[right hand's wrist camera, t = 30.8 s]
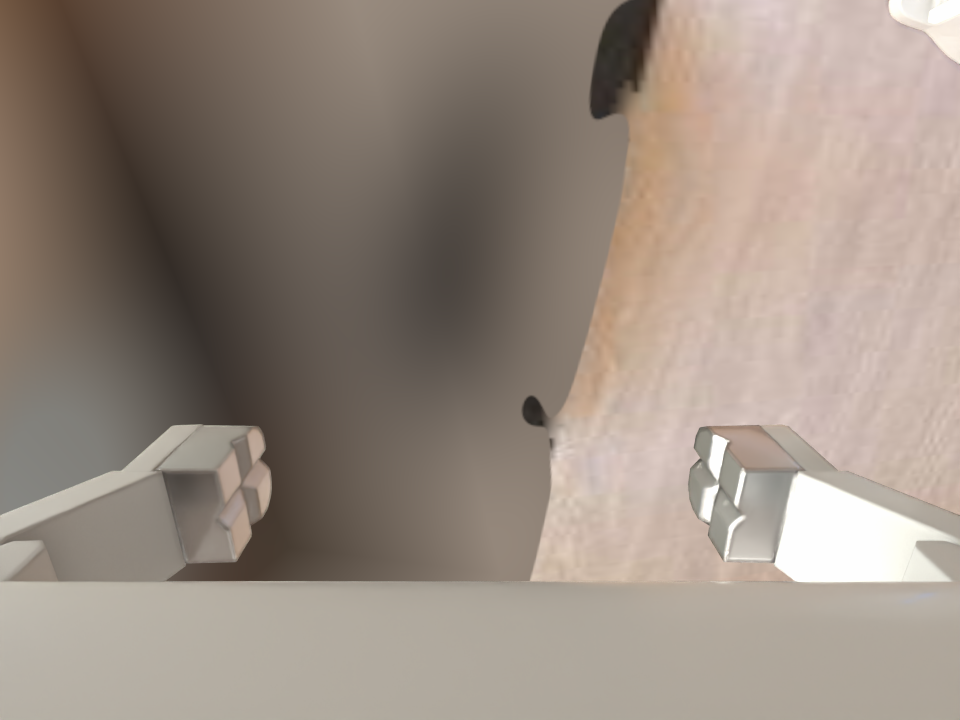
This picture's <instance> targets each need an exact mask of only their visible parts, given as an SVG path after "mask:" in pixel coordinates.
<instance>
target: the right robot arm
mask: <svg viewBox="0 0 960 720" xmlns="http://www.w3.org/2000/svg"><path fill="white" fill-rule="evenodd" d="M889 12H890V15H891V16H892V17H893V18H894V19H895V20H896V21H898V22H899V23H901V24H904V25H906V26H909V27H912V28H915V29H918V30H921V31H924V32H925V33H926V34H927V35H928V36H929V37H930V38H931V39H932V40H933V41H934V42H935V43H936V45H937V46H938V47H939V48H940V49H941V50H942V52H943V53H944V54H945V55H946V56H948V57H949V58H950V59H951V60H953V61H954V62H956V63H957V64H959V65H960V0H889ZM265 449H266V445H265V440H264V435H263V432H262V430H261V429H260V428H259V427H258V426H213V425H206V426H204V425H178V426H172V427H170V428H169V429H168V430H167V431H166V432H165V433H164V434H163V435H161V436H160V437H159V438H158V439H157V440H156V441H155V442H154V443H152V444H151V445H150V446H149V447H148V448H147V449H146V450H145V451H144V452H142V453H141V454H140V455H139V456H138V457H137V458H136V459H134V460H133V461H132V462H131V463H130V464H129V465H128V466H127V467H125V468H124V469H123V470H122V471H111V472H109V473H106V474H104V475H101V476H99V477H96V478H94V479H91V480H89V481H86V482H84V483H81V484H79V485H76V486H73V487H71V488H68V489H66V490H63V491H61V492H58V493H56V494H53V495H51V496H48V497H46V498H43V499H41V500H38V501H35V502H33V503H30V504H28V505H25V506H23V507H20V508H18V509H15V510H13V511H10V512H8V513H5V514H3V515H0V720H960V515H957V514H955V513H952V512H950V511H947V510H945V509H942V508H940V507H937V506H934V505H932V504H929V503H927V502H924V501H922V500H919V499H917V498H914V497H912V496H909V495H907V494H904V493H902V492H899V491H897V490H894V489H892V488H889V487H886V486H884V485H881V484H879V483H876V482H874V481H871V480H869V479H866V478H864V477H861V476H859V475H856V474H854V473H851V472H849V471H838V470H837V469H836V468H835V467H834V466H832V465H831V464H830V463H829V462H828V461H827V460H826V459H825V458H823V457H822V456H821V455H820V454H819V453H818V452H817V451H816V450H814V449H813V448H812V447H811V446H810V445H809V444H808V443H807V442H805V441H804V440H803V439H802V438H801V437H800V436H799V435H798V434H797V433H795V432H794V431H793V430H792V429H791V428H790V427H788V426H785V425H762V426H759V425H745V426H706V427H701V428H699V430H698V433H697V435H696V439H695V444H694V449H695V450H696V452H697V454H698V455H699V457H700V459H699V460H698V461H697V462H696V463H695V464H694V465H693V466H692V467H691V468H690V474H689V482H688V487H689V498H690V502H691V505H692V508H693V510H694V512H695V514H696V516H697V517H698V519H700V520H701V521H703V522H705V523H706V524H708V525H709V526H710V527H709V532H708V536H709V538H710V540H711V541H712V543H713V545H714V546H715V548H716V550H717V551H718V553H719V555H720V556H721V558H722V560H723V561H724V562H748V563H775V564H774V566H776V567H777V568H778V569H780V570H781V571H782V572H784V573H785V574H786V575H788V576H789V577H791V578H792V579H793V580H795V581H166V580H167V579H168V578H170V577H171V576H172V575H174V574H175V573H176V572H178V571H179V570H180V569H182V568H183V567H184V566H186V564H185V563H211V562H236V561H237V560H238V558H239V556H240V555H241V553H242V551H243V550H244V548H245V546H246V545H247V543H248V541H249V539H250V538H251V536H252V532H251V527H250V526H251V525H252V524H254V523H255V522H257V521H259V520H260V519H262V517H263V516H264V514H265V512H266V510H267V508H268V505H269V501H270V497H271V481H272V480H271V474H270V468H269V467H268V466H267V465H266V464H265V463H264V462H263V461H262V460H261V459H260V457H261V455H262V454H263V452H264V450H265Z"/></svg>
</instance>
